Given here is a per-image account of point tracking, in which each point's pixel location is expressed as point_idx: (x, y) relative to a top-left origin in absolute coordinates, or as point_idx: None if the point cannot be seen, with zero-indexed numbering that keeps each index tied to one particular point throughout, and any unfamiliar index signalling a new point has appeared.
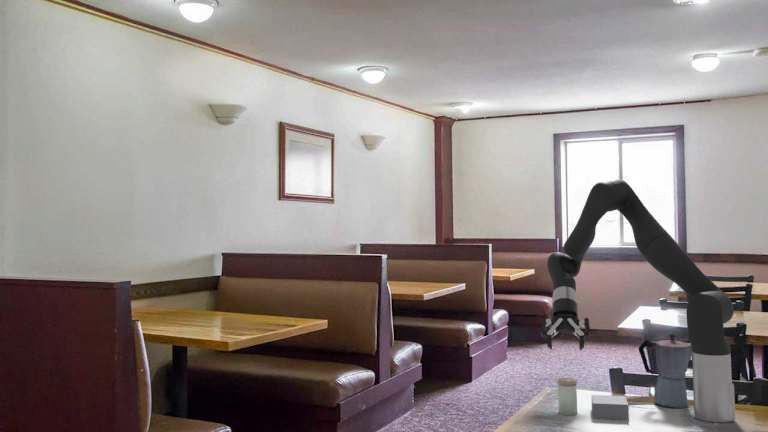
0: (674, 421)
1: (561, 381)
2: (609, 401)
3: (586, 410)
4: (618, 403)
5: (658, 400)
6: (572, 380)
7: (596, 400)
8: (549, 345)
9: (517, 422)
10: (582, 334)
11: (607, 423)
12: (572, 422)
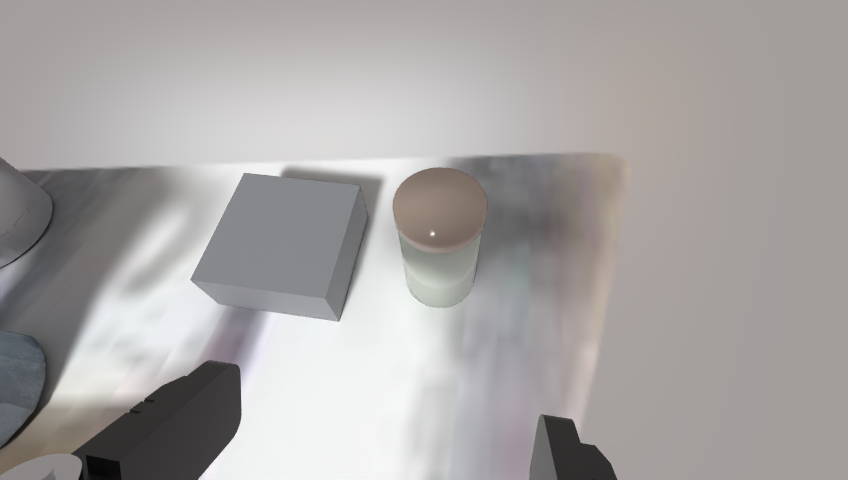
0: (137, 197)
1: (469, 179)
2: (290, 207)
3: (364, 306)
4: (270, 184)
5: (31, 366)
6: (414, 196)
7: (333, 218)
8: (569, 420)
9: (609, 175)
10: (38, 470)
11: (341, 175)
12: None
